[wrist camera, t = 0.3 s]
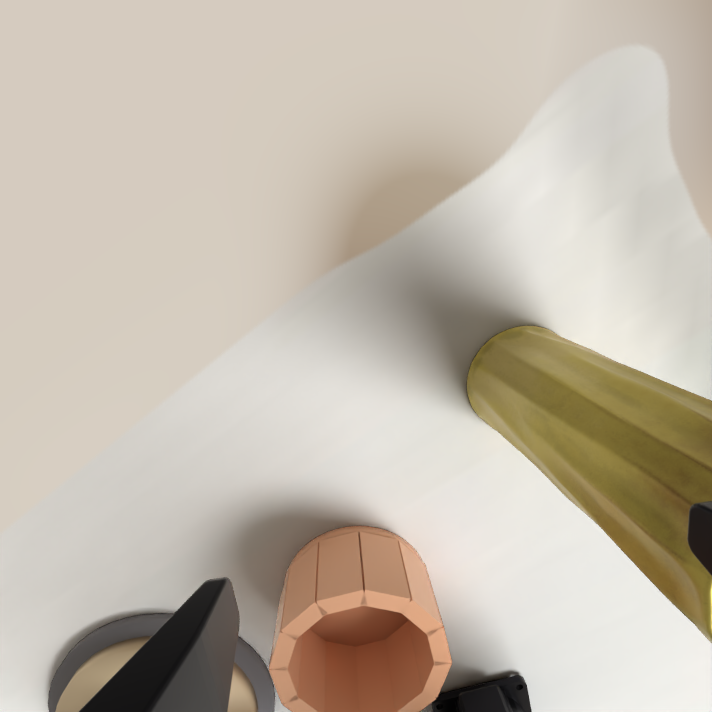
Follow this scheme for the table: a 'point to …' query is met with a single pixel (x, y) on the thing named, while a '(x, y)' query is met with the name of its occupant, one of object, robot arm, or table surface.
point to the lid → (112, 660)
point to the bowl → (358, 627)
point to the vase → (607, 448)
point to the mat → (148, 627)
